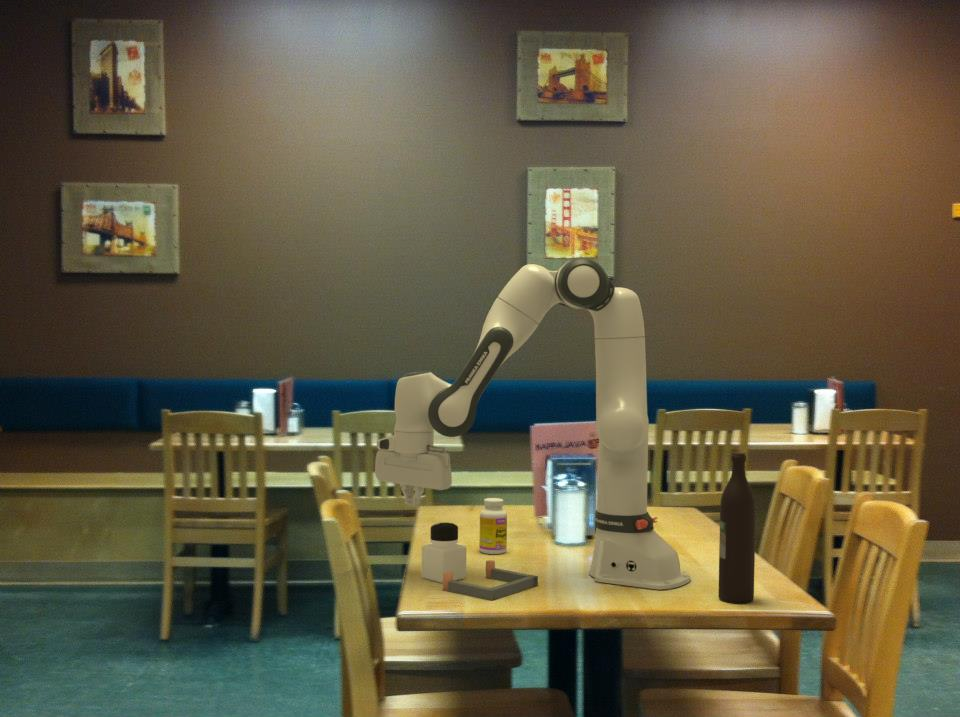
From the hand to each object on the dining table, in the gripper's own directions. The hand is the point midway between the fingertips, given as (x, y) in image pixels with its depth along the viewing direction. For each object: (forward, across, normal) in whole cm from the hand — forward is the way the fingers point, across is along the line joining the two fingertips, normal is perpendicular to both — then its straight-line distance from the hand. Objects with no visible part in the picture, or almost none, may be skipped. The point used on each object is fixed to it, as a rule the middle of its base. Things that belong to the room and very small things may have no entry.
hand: (412, 505), depth 242 cm
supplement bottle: (+15, -1, -28) cm, 32 cm away
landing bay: (+15, -23, 0) cm, 27 cm away
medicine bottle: (+15, -9, 0) cm, 18 cm away
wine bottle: (+14, -66, -25) cm, 72 cm away
